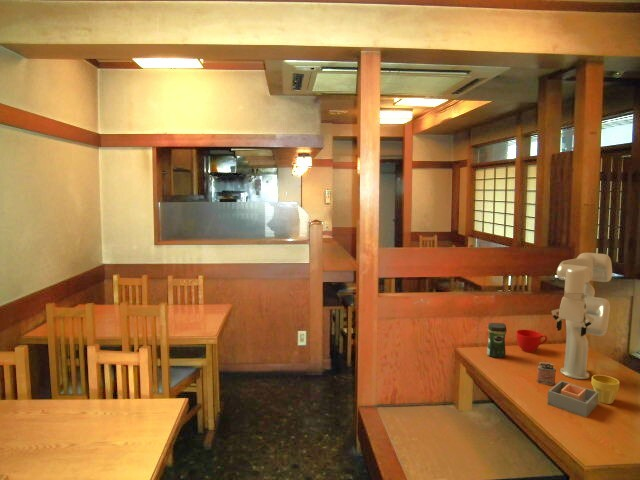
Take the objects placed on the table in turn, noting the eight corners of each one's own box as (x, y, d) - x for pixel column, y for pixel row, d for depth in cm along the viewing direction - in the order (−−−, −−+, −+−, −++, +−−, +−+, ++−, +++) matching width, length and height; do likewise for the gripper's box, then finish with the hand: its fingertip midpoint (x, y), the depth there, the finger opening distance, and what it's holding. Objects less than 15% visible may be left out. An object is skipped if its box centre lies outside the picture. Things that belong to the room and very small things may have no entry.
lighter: (554, 382, 211) (555, 362, 209) (555, 385, 207) (557, 365, 206) (535, 380, 213) (537, 360, 212) (536, 383, 210) (538, 363, 209)
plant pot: (591, 392, 201) (593, 372, 199) (619, 399, 194) (621, 378, 193) (588, 401, 193) (590, 380, 192) (616, 408, 186) (618, 387, 185)
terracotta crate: (567, 396, 195) (568, 383, 194) (584, 402, 190) (586, 389, 189) (559, 403, 189) (560, 390, 188) (577, 409, 184) (578, 395, 183)
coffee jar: (503, 353, 247) (504, 321, 245) (506, 358, 239) (508, 325, 237) (485, 352, 248) (486, 320, 246) (488, 357, 241) (490, 325, 238)
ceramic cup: (551, 354, 245) (553, 337, 244) (521, 354, 246) (522, 337, 244) (540, 346, 258) (541, 329, 257) (511, 345, 258) (512, 329, 257)
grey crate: (560, 392, 200) (561, 380, 199) (597, 405, 189) (598, 392, 188) (547, 403, 190) (548, 390, 189) (586, 417, 179) (587, 403, 178)
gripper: (598, 298, 191) (595, 335, 194) (556, 290, 204) (553, 326, 206) (593, 301, 186) (589, 339, 189) (550, 293, 199) (547, 329, 201)
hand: (570, 332), depth 197 cm, fingers open, 9 cm apart
